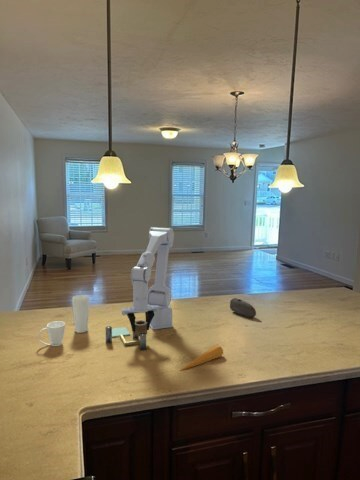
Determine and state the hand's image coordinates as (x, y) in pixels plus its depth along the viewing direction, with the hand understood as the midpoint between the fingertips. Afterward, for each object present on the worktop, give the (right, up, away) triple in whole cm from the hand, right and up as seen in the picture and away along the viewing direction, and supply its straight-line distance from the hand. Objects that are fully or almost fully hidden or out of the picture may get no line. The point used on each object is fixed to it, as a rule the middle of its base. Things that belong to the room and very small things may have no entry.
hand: (140, 330), depth 141 cm
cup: (-34, -5, -2) cm, 34 cm away
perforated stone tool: (+47, -2, +35) cm, 59 cm away
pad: (-10, -4, +11) cm, 15 cm away
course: (-6, -6, -1) cm, 8 cm away
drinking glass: (-26, -4, +12) cm, 29 cm away
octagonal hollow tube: (0, -1, 0) cm, 1 cm away
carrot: (+23, -8, -13) cm, 28 cm away
